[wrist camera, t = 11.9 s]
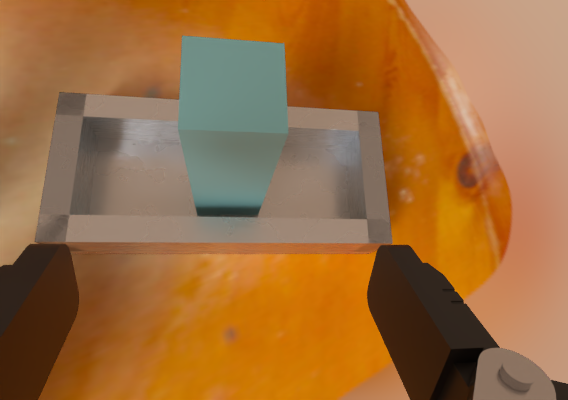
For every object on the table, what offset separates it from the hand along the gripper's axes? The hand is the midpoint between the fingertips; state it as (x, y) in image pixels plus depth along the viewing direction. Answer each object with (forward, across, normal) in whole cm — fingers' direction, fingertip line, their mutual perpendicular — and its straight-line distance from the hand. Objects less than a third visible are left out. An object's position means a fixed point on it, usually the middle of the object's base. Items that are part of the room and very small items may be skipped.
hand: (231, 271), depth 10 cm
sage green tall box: (+15, 0, +5) cm, 16 cm away
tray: (+16, 0, +6) cm, 17 cm away
